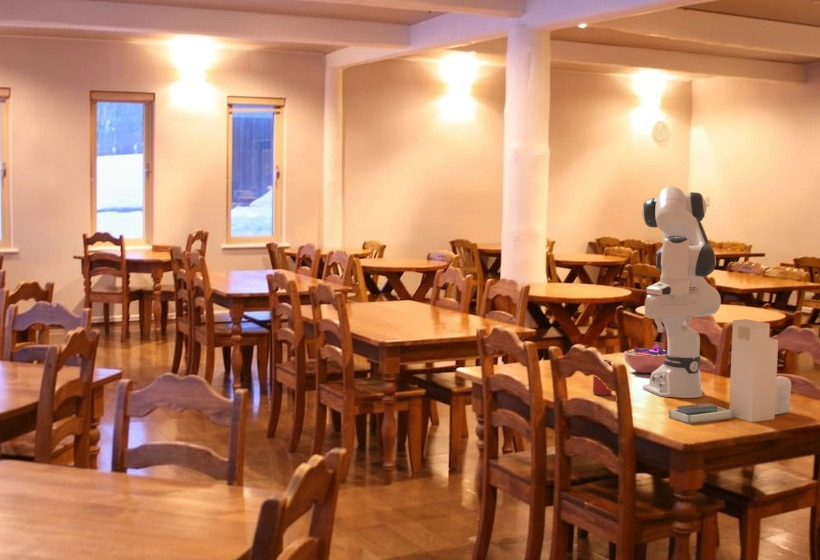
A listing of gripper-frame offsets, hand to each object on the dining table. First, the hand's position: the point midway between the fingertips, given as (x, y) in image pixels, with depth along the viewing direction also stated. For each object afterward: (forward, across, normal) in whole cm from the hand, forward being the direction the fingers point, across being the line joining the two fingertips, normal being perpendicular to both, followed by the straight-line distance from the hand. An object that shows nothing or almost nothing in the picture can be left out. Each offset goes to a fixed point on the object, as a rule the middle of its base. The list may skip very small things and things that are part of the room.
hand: (672, 331), depth 331 cm
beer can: (+29, -6, -43) cm, 52 cm away
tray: (+29, -13, 0) cm, 32 cm away
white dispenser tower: (+29, -29, +6) cm, 41 cm away
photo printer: (+29, -41, +5) cm, 51 cm away
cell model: (+30, -48, -69) cm, 89 cm away
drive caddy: (+28, -11, 0) cm, 31 cm away
